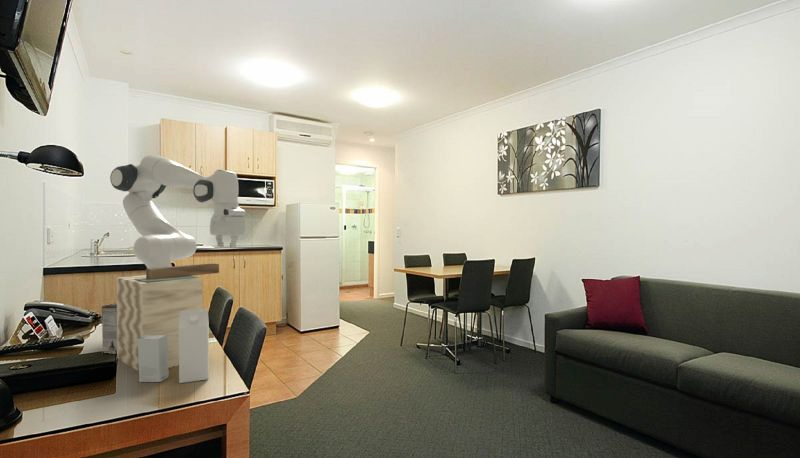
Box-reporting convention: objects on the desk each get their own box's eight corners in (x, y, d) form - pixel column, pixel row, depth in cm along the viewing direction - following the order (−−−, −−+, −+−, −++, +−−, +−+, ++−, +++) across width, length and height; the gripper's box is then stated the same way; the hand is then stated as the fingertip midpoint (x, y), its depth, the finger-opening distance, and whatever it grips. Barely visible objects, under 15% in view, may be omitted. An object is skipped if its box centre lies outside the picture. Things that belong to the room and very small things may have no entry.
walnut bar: (146, 278, 127) (146, 268, 127) (213, 272, 144) (213, 263, 144) (151, 279, 125) (151, 269, 125) (218, 273, 141) (218, 264, 141)
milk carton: (181, 375, 118) (180, 308, 118) (208, 371, 121) (208, 306, 121) (179, 383, 112) (178, 313, 111) (208, 380, 114) (207, 311, 114)
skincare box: (169, 377, 117) (169, 334, 117) (159, 383, 112) (159, 338, 112) (147, 377, 117) (147, 334, 117) (137, 383, 112) (136, 338, 112)
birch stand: (117, 358, 133) (116, 276, 133) (173, 346, 146) (172, 271, 146) (143, 374, 119) (142, 282, 119) (202, 359, 132) (202, 276, 132)
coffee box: (125, 346, 147) (124, 300, 147) (140, 347, 145) (140, 301, 145) (101, 354, 138) (101, 305, 138) (117, 355, 136) (117, 306, 136)
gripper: (205, 212, 165) (205, 246, 165) (232, 210, 152) (232, 248, 152) (220, 212, 170) (221, 246, 170) (248, 211, 157) (248, 247, 157)
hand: (226, 247), depth 161 cm, fingers open, 8 cm apart
